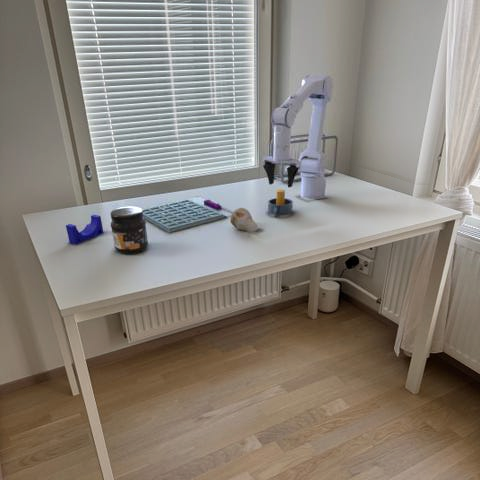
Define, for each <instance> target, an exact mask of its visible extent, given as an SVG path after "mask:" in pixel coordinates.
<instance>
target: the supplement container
mask: <svg viewBox="0 0 480 480" xmlns="http://www.w3.org/2000/svg"><path fill="white" fill-rule="evenodd" d="M142 209H143V208H141V207H137V206H124V207H123V206H121V207H117V208H115V209H113V210H111V211H110V219H111V222H110V228H111V233H112V238H113V246H114V249H115V251H116V252H118V253H120V254H125V255H132V254H138V253H141V252H144V251H145V250H146V249H148V247H149V239H148V232H147V226H146V225H147V222H146V221H147V220H146V219H145V218H143V211H142Z"/></svg>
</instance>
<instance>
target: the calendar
mask: <svg viewBox="0 0 480 480" xmlns="http://www.w3.org/2000/svg"><path fill="white" fill-rule="evenodd" d="M141 209H142V211H143V218H144V219H145V220H146V221H148V222H151V223H152V224H153V225H156V226H157V227H159V228H161V229H163V230H165V231H166V232H168V233H173V232H176V231H180V230H183V229H187V228H191V227H195V226H198V225H203V224H207V223H210V222H215V221H217V220H222V219H225V218H227V216H226V215H225V214H223V213H222V212H220V211H219V210H222V205H221V204H220V203H216V202H214V201H212V200H210V199H205V198H202V197H200V196H196V197H190V198H184V200H180V199H178V200H176V201H173V202H171V201H170V202H168V203H164V204H162V203H161V204H159V205H158V206H157V205H156V206H148V207H147V208H141Z"/></svg>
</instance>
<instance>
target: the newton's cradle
mask: <svg viewBox="0 0 480 480" xmlns="http://www.w3.org/2000/svg"><path fill="white" fill-rule="evenodd" d="M308 139H309V133H305V134H303V133H302V134H295V135H291V140H290V145H291V144H300V143H308ZM329 139H334V152H333V163H332V170H331V172H327V171H324V173H323V175H324V176H325V177H329V176H330V177H331V176H333V175H334V174H335V172H336V164H337V154H338V144H339V139H338V136H337V135H330V134H327V133H324V132H323V133H322V140H321V142H322V143H321V146H320V148H321V151H322V153H323V154H324V155H325V148H326V140H329ZM305 146H306V147H305V149H307V146H308V145H305ZM293 147H294V145H292V146H291V148H292V149H293ZM269 149H270V150H269V157H273V155H274V137H273V138H272V139H271V141H270V146H269ZM300 149H301V145H299V147H298V150H300ZM299 154H300V152H298V153H297V155H296V152H295V153H294V156H295V158H294V159H295V160H299V158H297V156H300V155H299ZM292 155H293V152H290V156H292ZM308 158H313V157H310V156H309V157H308ZM284 167H285V165H280V174H277V175H276V174H275V175H274V179H277V180H279V181H281V182H282V183H283V184H288V179H286V180H285V179H284V178H286V177H288V172H287V168H288V167H290V166H288V165H286V167H285V168H284ZM284 172H285V173H284ZM298 175H300V172H299V171H297V173H296V175H295V176H298ZM300 181H302V177H297V178H294V181H293V183H294V182H300Z"/></svg>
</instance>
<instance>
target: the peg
mask: <svg viewBox="0 0 480 480" xmlns="http://www.w3.org/2000/svg"><path fill="white" fill-rule="evenodd" d="M275 196H276V205H284V202H285V198H286V197H285V196H286V191H285V189H277V190H276V195H275Z"/></svg>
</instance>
